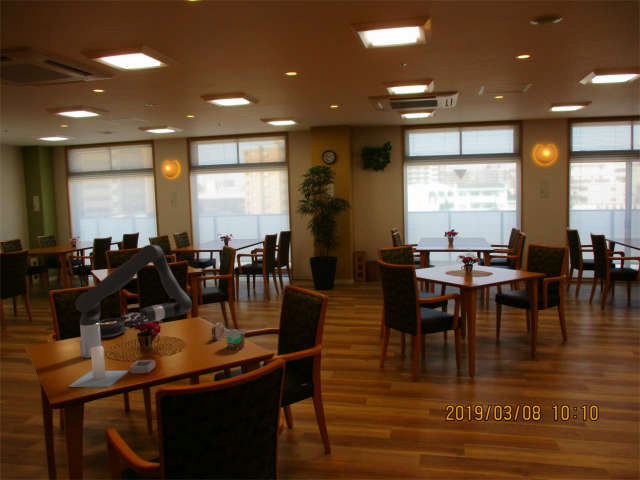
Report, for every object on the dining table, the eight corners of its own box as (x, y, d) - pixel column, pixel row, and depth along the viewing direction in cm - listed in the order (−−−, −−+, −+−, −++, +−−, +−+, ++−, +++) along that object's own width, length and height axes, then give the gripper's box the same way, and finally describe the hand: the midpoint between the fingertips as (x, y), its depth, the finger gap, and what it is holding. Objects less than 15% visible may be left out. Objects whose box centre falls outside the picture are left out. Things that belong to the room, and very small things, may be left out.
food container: (220, 349, 262) (219, 330, 262) (226, 345, 268) (225, 327, 267) (240, 351, 258) (239, 332, 257) (246, 347, 263) (245, 329, 263)
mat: (69, 387, 216) (68, 385, 216) (90, 372, 234) (90, 371, 233) (109, 387, 214) (108, 385, 214) (127, 372, 232) (127, 370, 232)
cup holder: (129, 373, 231) (129, 366, 231) (137, 366, 240) (137, 360, 239) (148, 372, 230) (147, 366, 230) (155, 366, 239) (155, 360, 239)
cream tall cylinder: (90, 378, 224) (88, 348, 222) (101, 374, 228) (98, 345, 227) (97, 380, 221) (94, 349, 220) (108, 376, 225) (105, 346, 224)
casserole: (122, 338, 290) (121, 324, 289) (88, 341, 287) (87, 327, 286) (130, 328, 315) (129, 315, 314) (99, 330, 311) (98, 317, 310)
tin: (216, 341, 276) (215, 327, 276) (211, 341, 277) (210, 326, 276) (226, 334, 291) (225, 320, 290) (221, 334, 292) (220, 320, 291)
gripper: (145, 303, 247) (112, 311, 235) (159, 309, 237) (125, 317, 225) (146, 318, 248) (114, 326, 237) (160, 324, 238) (127, 333, 227)
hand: (120, 322), depth 231 cm, fingers open, 8 cm apart
